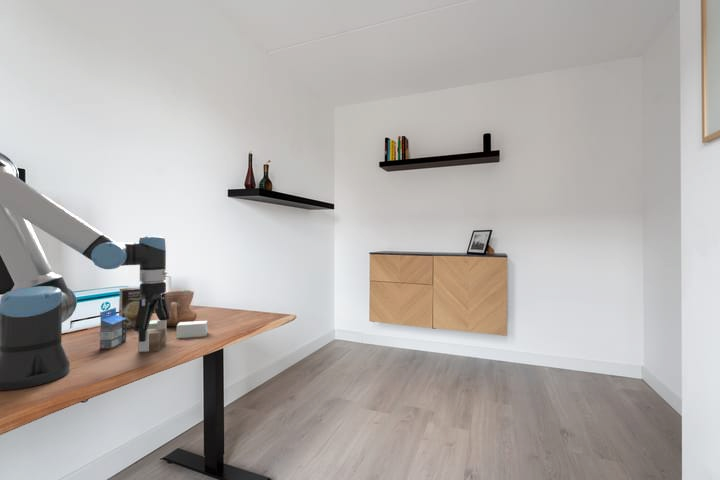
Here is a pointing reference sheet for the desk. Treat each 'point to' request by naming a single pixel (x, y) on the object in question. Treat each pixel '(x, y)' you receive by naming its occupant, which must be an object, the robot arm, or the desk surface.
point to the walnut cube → (156, 339)
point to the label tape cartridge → (112, 329)
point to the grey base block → (192, 329)
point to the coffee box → (129, 305)
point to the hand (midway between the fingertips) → (153, 344)
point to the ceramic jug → (179, 307)
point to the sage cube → (153, 324)
